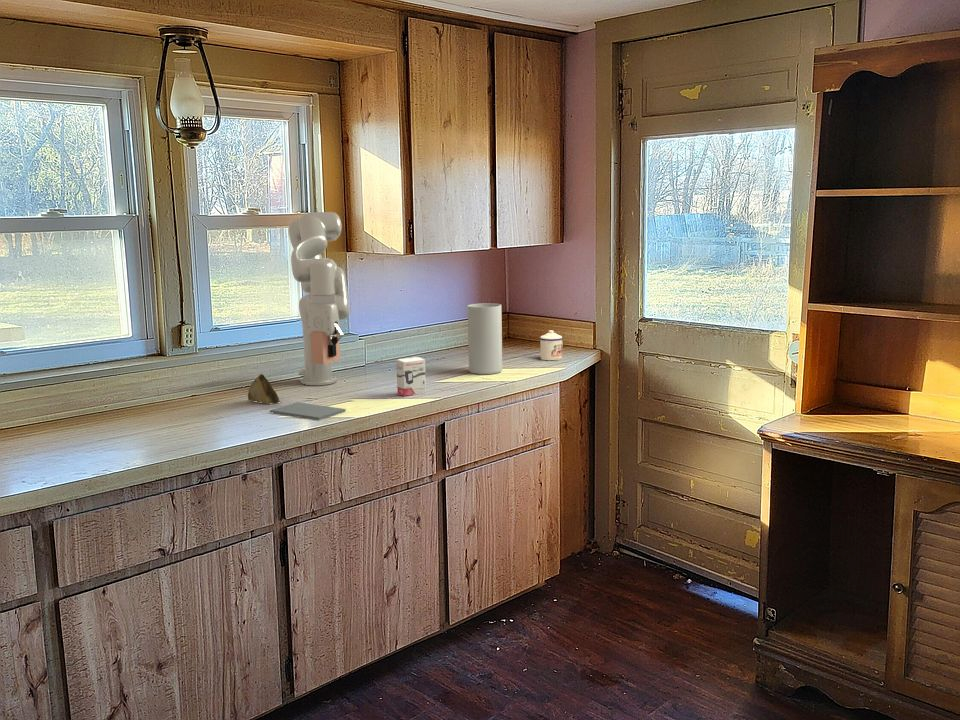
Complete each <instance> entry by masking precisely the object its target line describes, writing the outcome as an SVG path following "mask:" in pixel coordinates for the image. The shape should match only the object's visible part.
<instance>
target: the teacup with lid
mask: <svg viewBox="0 0 960 720" xmlns="http://www.w3.org/2000/svg"><path fill="white" fill-rule="evenodd" d="M539 341H540V342H539V343H540V348H539V349H540V360H542V361H545V360H557V361H560V359H561V360H562V359H563V344H564V343H563V336H562V335H560V334H558V333H557V332H555V331H554V330H551V329H550V330H548V332H547V333H545V334H543V335H541V336H540V337H539Z"/></svg>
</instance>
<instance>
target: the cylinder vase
mask: <svg viewBox="0 0 960 720" xmlns="http://www.w3.org/2000/svg"><path fill="white" fill-rule="evenodd" d="M502 316H503V315H502V304H500V303H490V302H489V303H488V302H487V303H471V304H468V305H467V338H468V342H467V343H468V344H467V345H468V372H470V373H471V374H474V373H476V374H475V375H494V373H496V374H499V373H501V372H502V371H503V332H502V331H503V327H502V326H503V325H502V322H503V320H502Z"/></svg>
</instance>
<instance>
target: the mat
mask: <svg viewBox="0 0 960 720" xmlns="http://www.w3.org/2000/svg"><path fill="white" fill-rule="evenodd" d="M345 411H346V412H347V408H343V407H342V408H341V407H340V408H339V407H335V406H327V405H321V404H320V405H319V404H312V403H305V402H296V401H295V402H293V403H291V404H286V405H283V406H279V407H276V408H272V409H269V413H270V412H273V413H272V414H276V413H278V414H277V415H282V414H284V415H283V416H289V415H290V417H296V418H301V419H302V418H304V419H309V420H316V421H320V420H323V419H327V418H330V417H334V416H336V414H337V415H339V413H340V414H343V413H345ZM342 412H343V413H342Z"/></svg>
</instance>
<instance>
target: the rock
mask: <svg viewBox="0 0 960 720" xmlns="http://www.w3.org/2000/svg"><path fill="white" fill-rule="evenodd" d="M247 400H248V401H249V400H250V402H253V401H257V402H256V403H258V402H262V403H261V404H265V403H267V405H271V404H270V403H275V404H279V403H278V402H280V403H281V400H280V397H279V396H278V394H277V392H276V390H274V388H273V386H272V385H271V382H269V381H268V379H267V378H266V376H265V375H264V374H263V373H260V374H259V375H258V376H257V377H256V378H255V379H254V380H253V382H252V383H250V386H249V389H248V392H247Z"/></svg>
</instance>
